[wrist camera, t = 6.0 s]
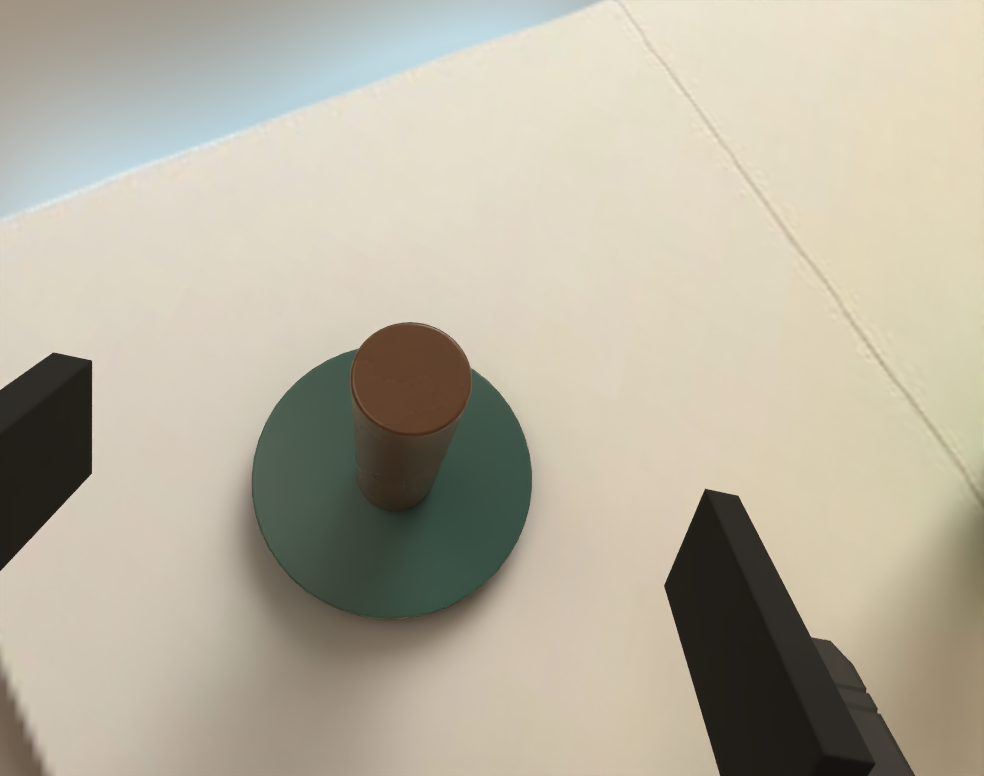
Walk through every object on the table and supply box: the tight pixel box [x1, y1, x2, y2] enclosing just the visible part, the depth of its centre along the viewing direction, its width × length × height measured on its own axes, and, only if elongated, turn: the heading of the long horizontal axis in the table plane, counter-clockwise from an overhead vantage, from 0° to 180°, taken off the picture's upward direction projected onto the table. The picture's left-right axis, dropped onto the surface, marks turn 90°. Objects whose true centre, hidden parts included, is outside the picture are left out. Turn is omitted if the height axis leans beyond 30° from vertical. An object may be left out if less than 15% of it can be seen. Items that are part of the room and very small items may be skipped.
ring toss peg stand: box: [252, 322, 532, 619], centre depth 19 cm, size 9×9×10 cm
